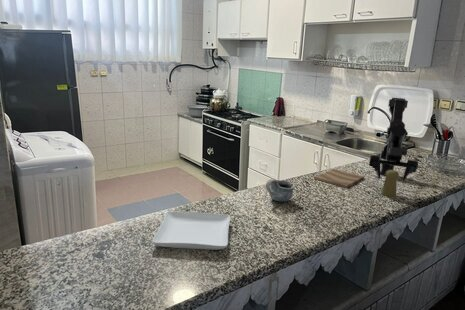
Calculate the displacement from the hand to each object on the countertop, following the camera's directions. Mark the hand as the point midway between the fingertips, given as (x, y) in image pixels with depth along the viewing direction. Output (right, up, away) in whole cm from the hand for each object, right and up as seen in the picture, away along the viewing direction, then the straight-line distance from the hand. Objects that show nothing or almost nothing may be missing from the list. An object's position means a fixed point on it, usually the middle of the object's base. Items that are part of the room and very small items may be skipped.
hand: (391, 180), depth 144 cm
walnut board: (-15, -1, +21) cm, 26 cm away
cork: (0, -7, +3) cm, 7 cm away
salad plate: (-78, -14, -39) cm, 89 cm away
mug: (-49, -8, -10) cm, 50 cm away
